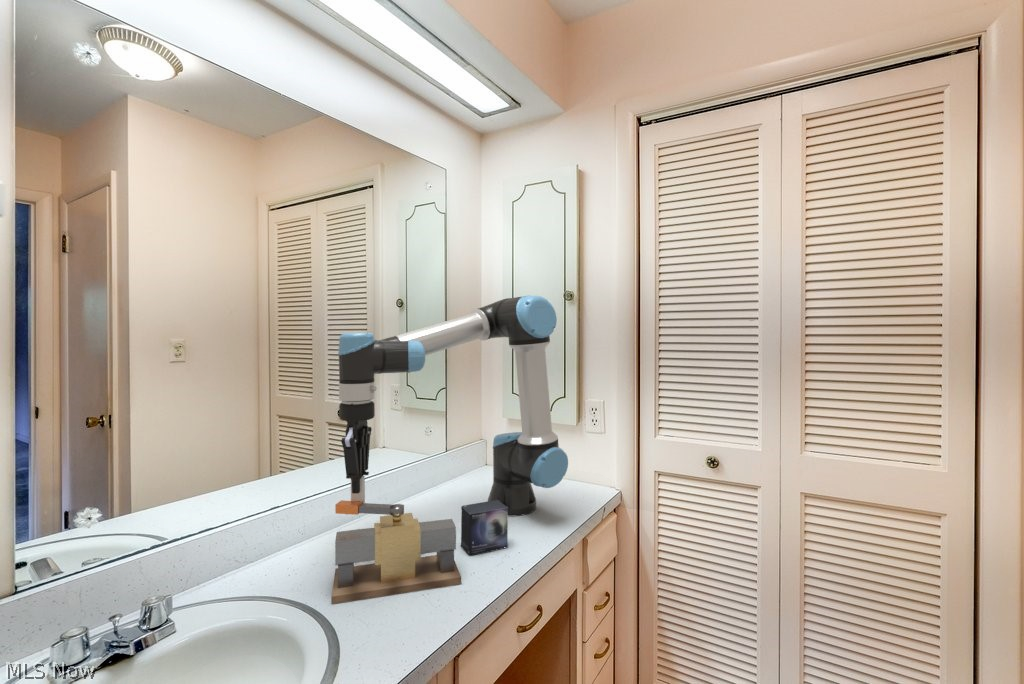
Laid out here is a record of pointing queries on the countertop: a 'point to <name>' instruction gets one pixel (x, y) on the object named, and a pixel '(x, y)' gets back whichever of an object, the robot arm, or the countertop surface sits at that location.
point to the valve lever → (368, 508)
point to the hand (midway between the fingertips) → (357, 505)
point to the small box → (484, 527)
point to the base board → (371, 586)
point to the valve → (395, 547)
